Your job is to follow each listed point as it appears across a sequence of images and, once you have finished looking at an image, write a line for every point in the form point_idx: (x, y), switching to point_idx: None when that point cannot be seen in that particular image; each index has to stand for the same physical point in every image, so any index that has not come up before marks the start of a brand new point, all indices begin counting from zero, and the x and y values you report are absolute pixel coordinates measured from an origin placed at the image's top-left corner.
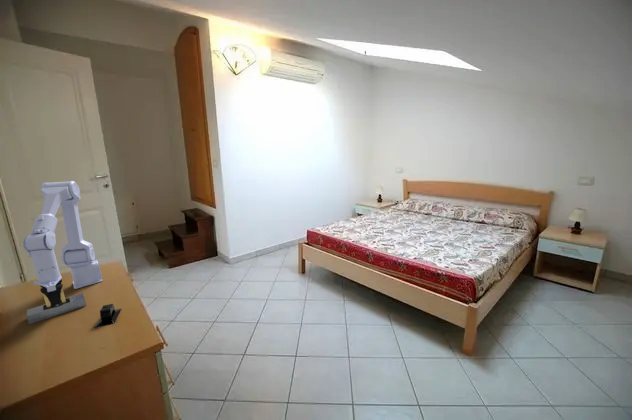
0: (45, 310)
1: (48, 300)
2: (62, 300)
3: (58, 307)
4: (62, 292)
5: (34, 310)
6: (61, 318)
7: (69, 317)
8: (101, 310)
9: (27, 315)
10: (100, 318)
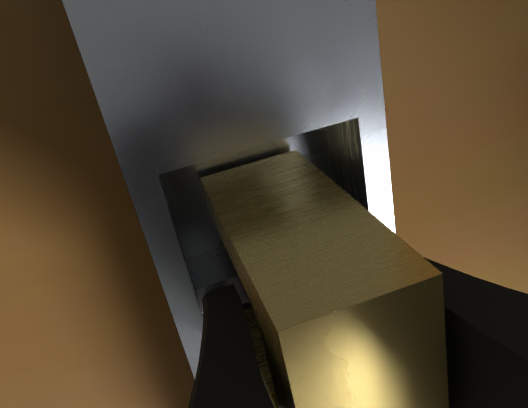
0: (136, 208)
1: (258, 311)
2: (268, 392)
3: (179, 324)
4: None
5: (249, 29)
6: (32, 313)
7: (13, 384)
8: None
9: None
10: None
